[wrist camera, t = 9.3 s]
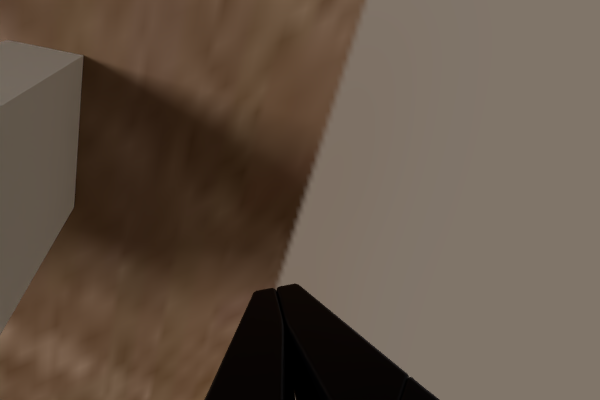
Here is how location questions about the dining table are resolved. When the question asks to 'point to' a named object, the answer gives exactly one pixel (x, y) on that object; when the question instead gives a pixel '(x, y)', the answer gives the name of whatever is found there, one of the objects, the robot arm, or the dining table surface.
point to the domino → (34, 159)
